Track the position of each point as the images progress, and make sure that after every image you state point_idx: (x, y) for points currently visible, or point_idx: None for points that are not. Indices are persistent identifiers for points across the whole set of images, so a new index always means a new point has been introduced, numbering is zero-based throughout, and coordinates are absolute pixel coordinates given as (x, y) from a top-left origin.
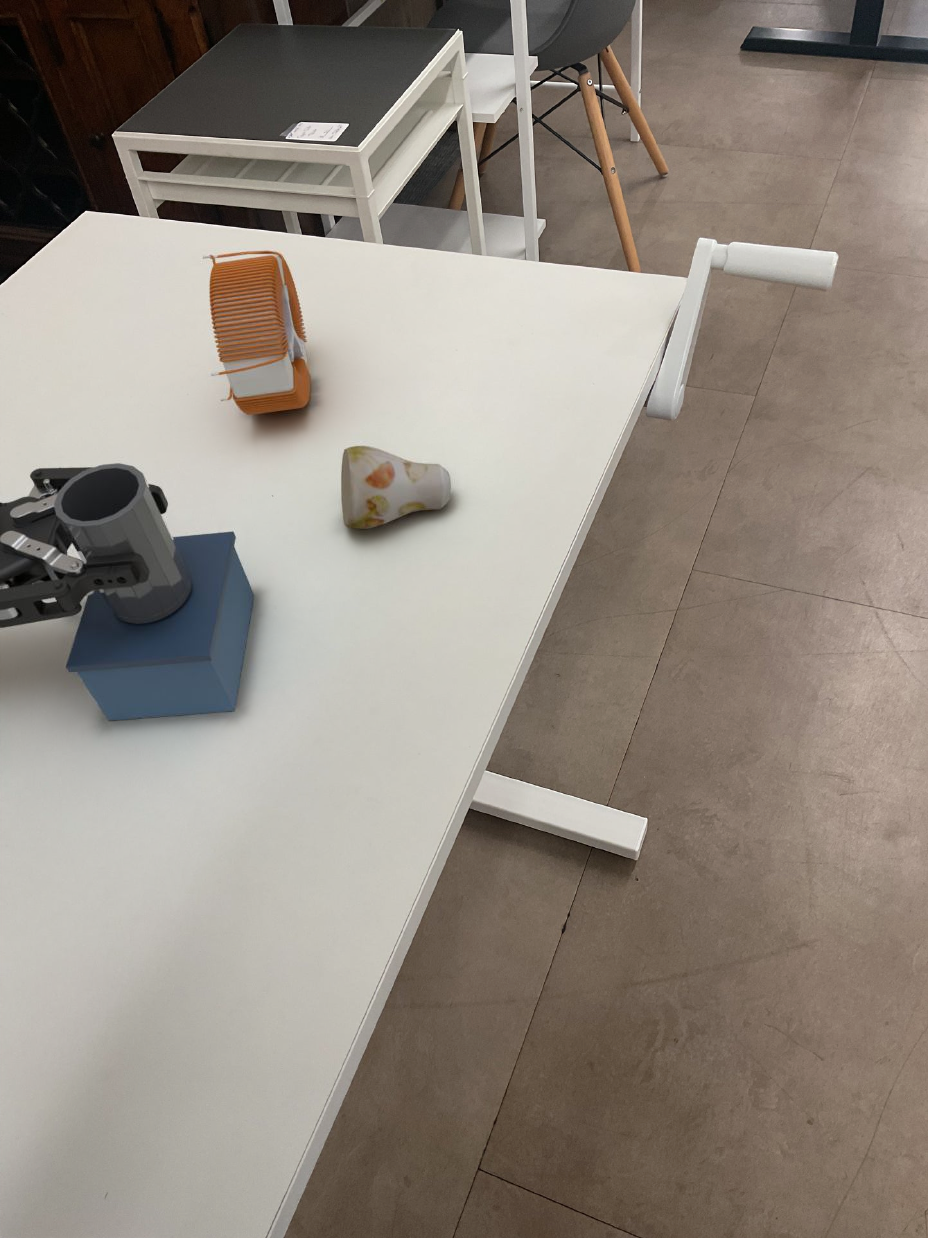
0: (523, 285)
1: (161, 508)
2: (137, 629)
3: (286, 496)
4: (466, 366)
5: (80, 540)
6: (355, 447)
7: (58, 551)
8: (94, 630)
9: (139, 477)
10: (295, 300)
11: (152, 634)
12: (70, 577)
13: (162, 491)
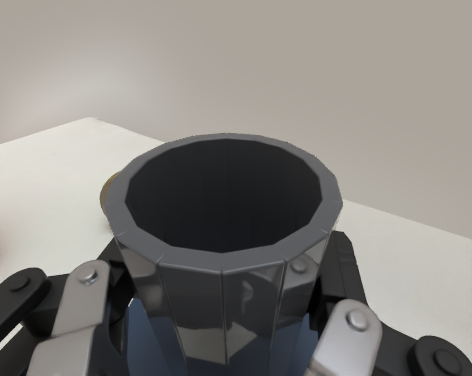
0: (12, 145)
1: None
2: (294, 366)
3: (68, 271)
4: (49, 169)
5: (322, 263)
6: (115, 174)
7: (311, 368)
8: None
9: (204, 138)
10: None
11: (305, 341)
12: (379, 347)
13: None
